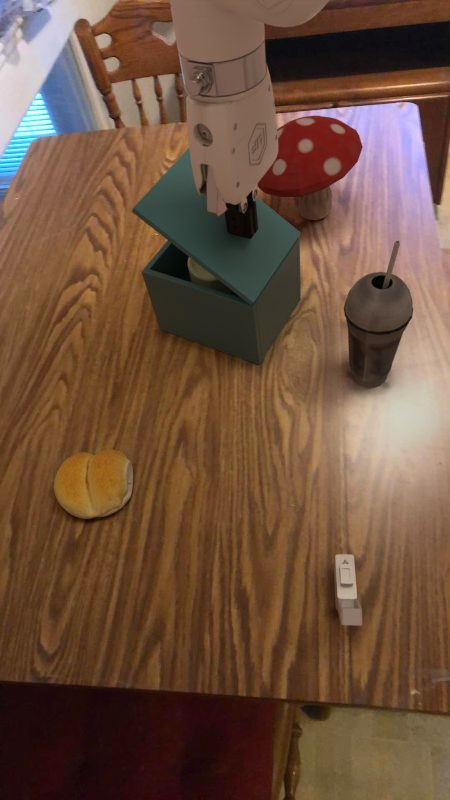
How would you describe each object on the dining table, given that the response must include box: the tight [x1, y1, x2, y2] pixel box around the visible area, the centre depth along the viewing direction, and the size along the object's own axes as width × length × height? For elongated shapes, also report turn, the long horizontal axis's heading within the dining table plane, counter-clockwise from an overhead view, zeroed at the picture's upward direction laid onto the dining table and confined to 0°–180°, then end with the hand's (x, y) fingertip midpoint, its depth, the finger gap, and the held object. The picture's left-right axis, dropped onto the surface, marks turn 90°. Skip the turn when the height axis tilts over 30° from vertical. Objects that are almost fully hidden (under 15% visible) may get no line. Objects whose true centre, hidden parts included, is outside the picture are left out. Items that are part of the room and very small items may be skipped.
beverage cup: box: [343, 240, 414, 389], centre depth 62 cm, size 7×7×20 cm
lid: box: [131, 147, 302, 305], centre depth 65 cm, size 17×13×1 cm
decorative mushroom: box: [258, 115, 363, 221], centre depth 83 cm, size 16×16×15 cm
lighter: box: [333, 553, 363, 626], centre depth 52 cm, size 7×2×8 cm, turn 177°
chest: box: [141, 237, 302, 366], centre depth 74 cm, size 16×13×11 cm
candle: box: [188, 257, 232, 295], centre depth 75 cm, size 5×5×8 cm
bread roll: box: [53, 448, 134, 520], centre depth 64 cm, size 8×9×4 cm
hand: (242, 231), depth 65 cm, fingers closed
